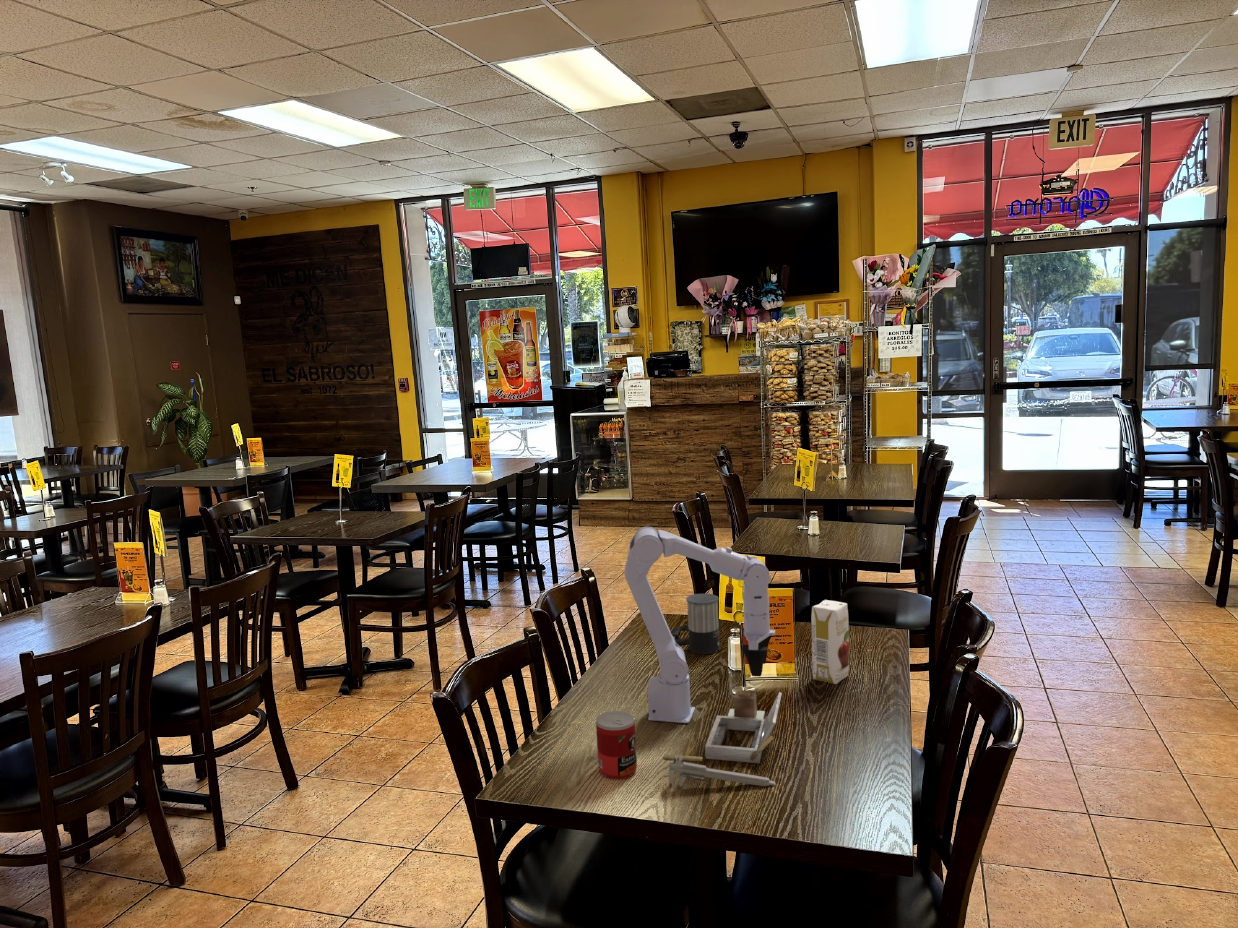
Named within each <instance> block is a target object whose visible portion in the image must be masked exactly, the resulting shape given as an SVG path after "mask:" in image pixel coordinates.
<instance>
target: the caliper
mask: <svg viewBox="0 0 1238 928" xmlns="http://www.w3.org/2000/svg"><path fill="white" fill-rule="evenodd" d="M682 761H683V760H682V757H680V758H679V760H677V757H676V756H675V759H673V760H670V763H669V767H668V785H669V787H670V788H672V787H673V784H674V779H675V775H676V773H679V774H680V775H679V778H678V785H677V786H678V788H682V786H683V785H684V783H685V782H686V779H687V778H688V777H691V779H694V780H696V781H697V780H700V781H702V782H703V781H705V779H706V778H707V779H708V778H709V779H714V780H719V781H726V782H733V783H738V784H739V783H740V784H744V785H745V784H746V785H752V786H759V787H769V786H773V787H776V786H777V785H776V781H774V780H770V778H769V777H766V776H760V775H755V774H754V775H753V774H748V773H741V772H735V771H728V770H722V769H716V768H708V767H707V766H706V765H703V764H697V763H693V762H692V763H691V762H688V761H687V762H686V761H683V762H682Z"/></svg>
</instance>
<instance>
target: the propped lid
mask: <svg viewBox="0 0 1238 928" xmlns="http://www.w3.org/2000/svg"><path fill="white" fill-rule="evenodd" d="M782 694H783V693H782V692H781V691H779V692H778V694H777V696H776V698H775V700H774V702H773V705H772V706H771V708H770V710H769V713H768V715H766V716H764V719H765V720H764V724H763V728H762V732H761V736H760V740H759V744H758V748H757V750H756V752H755V753H754V754H753V755H752V756H751V757H750V759H751V760H752V761H753V760H754V759H755V758H756V757H757V756H758V755H759V753H760V752H761V751H762V750H765V748H766V747H767V746H768V745H769V744H771V741H773V740H774V738H775V737H774V736H772V735H771V733H772V731H773V729H774V728H775V727H774V726H775V725H776V722H777V717H778V713H779V709H780V703H781V698H782ZM762 752H763V751H762Z"/></svg>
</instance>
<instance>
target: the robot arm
mask: <svg viewBox="0 0 1238 928" xmlns="http://www.w3.org/2000/svg"><path fill="white" fill-rule="evenodd" d="M662 555H663V557H664V558H668V557H669V558H670V557H671V556H674V555H679V556H682V557H686V558H688V559H693V560H695V561H698V562H701V563H705V564H708V566H709V567H710V569H711V571H712V572H714V573H717V574H719V575H723V576H725V577H728V578H730V579H733V580H736V581H743V592H742V595H743V597H742V598H743V600H742V601H743V624H744V630H743V635H744V637H745V638H746V640H747V641H748V644H742V646H741V650H742V653H743V654H744V655H745V658H746V661H747V663H748V667H749V668H748V669H749V671H750V675H751V676H752V677H762V674H763V670H764V669H763V667H764V665H766V662H767V658H768V657H767V656H768V650H769V644H770V641H771V638H772V637H773V636H775V635H776V630H775V629H771V626H770V624H771V623H770V622H771V621H770V597H769V589H768V588H769V584H770V582H771V579H772V578H771V577H772V575H770V571H769V569H768V568H767V566H766V565H765V563H764V562H763V561H762V560H761V559H759V558H757V557H756V556H751V555H749V554H747V555H746V556H745V555H743V554H740V553H738V552H735V551H733V549H732V547H729V546H726V547H725V548H724V547H721V546H720V547H718V548H714V549H711V548H708V547H706V546H704V545H701V544H699V543H695V542H694V541H691V540H689V539H686V538H684V537H681V536H680V535H679V536H678V535H677V534H674V533H671V532H669V531H666V530H661V529H658V530H657V529H656V528H655V527H652V526H643V527H641V528H639V529H638V530H636V532H635V533H634V535H633V537H632V538H631V539H630V542H629V546H628V551H627V556H626V561H625V567H624V578H625V580H626V583H627V585H628V587H629V590H630V593H631V594H632V596H633V600H634V601H635V603H636V606H637V609H638V610H639V611H638V612H639V613H640V615H641V617H642V620H643V622H644V624H645V625H644V626H645V627H646V629H647V632H648V634H649V636H650V639H651V641H652V644H653V646H654V648H655V651H656V655H657V658H658V662H659V668H660V671H659V674H657V676H651V677H650V678H649V680H648V687H647V701H648V718H647V719H648V720H649V721H653V722H667V723H679V724H681V723H682V724H689V723H690V721H691V719H692V717H693V715H694V712H695V710H696V707H695V706H691V689H690V688H691V687H690V683H691V682H690V674H689V666H688V664H687V660H686V654H685V653H686V652H685V651H684V649H683V648H682V647H681V646H680V645H679V644H677V643H676V642H675V640H674V637H673V636H672V634H671V630H670V627H669V625H668V623H667V621H666V618H665V616H664V613H663V612H662V609H661V607H660V604H659V602H658V600H657V599H658V598H657V597H656V595H655V592H654V590H653V588H652V585H651V583H650V580H649V578H648V574H649V571H650V570H651V568H652V566H653V565H654V564H655V563H656V562H657V561H658V560H659V559H661V557H662Z"/></svg>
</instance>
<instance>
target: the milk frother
mask: <svg viewBox="0 0 1238 928" xmlns="http://www.w3.org/2000/svg"><path fill="white" fill-rule="evenodd" d="M719 600H720V599H719V597H718V595H715V594H711V593H695V594H691V595H688V596H687V597H686V598H685V601H686V602H687V603H686V605H687V606H686V607H687V623H688V624H687V625H680V626H678V627H675V628H673V629H672V630H670V632H671V634H672V636H673V637H674V640H675V642H676V643H677V644H678V645H679V644H680V645H681V644H687V643H688V646H687V649H688V650H689V651H690V652H691V653H694V654H698V655H710V654H714V652H715V653H717V652H719V651H720V650H721V649H720V648H722V646H721V643H720V632H721V623H722V622H721V621H722V620H720V619H719ZM682 631H684V632H685V631H686V632H688V636H687V637H686V638H682V639H680V636H681V633H682ZM718 650H719V651H718Z"/></svg>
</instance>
